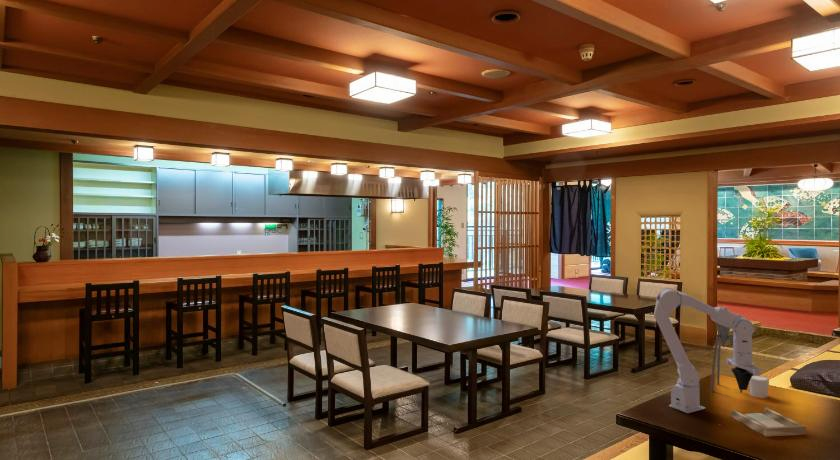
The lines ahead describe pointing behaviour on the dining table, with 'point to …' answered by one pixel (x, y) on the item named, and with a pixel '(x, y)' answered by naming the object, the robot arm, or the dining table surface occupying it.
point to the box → (788, 429)
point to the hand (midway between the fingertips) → (743, 389)
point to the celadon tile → (758, 417)
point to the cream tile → (770, 423)
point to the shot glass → (759, 386)
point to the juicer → (722, 338)
